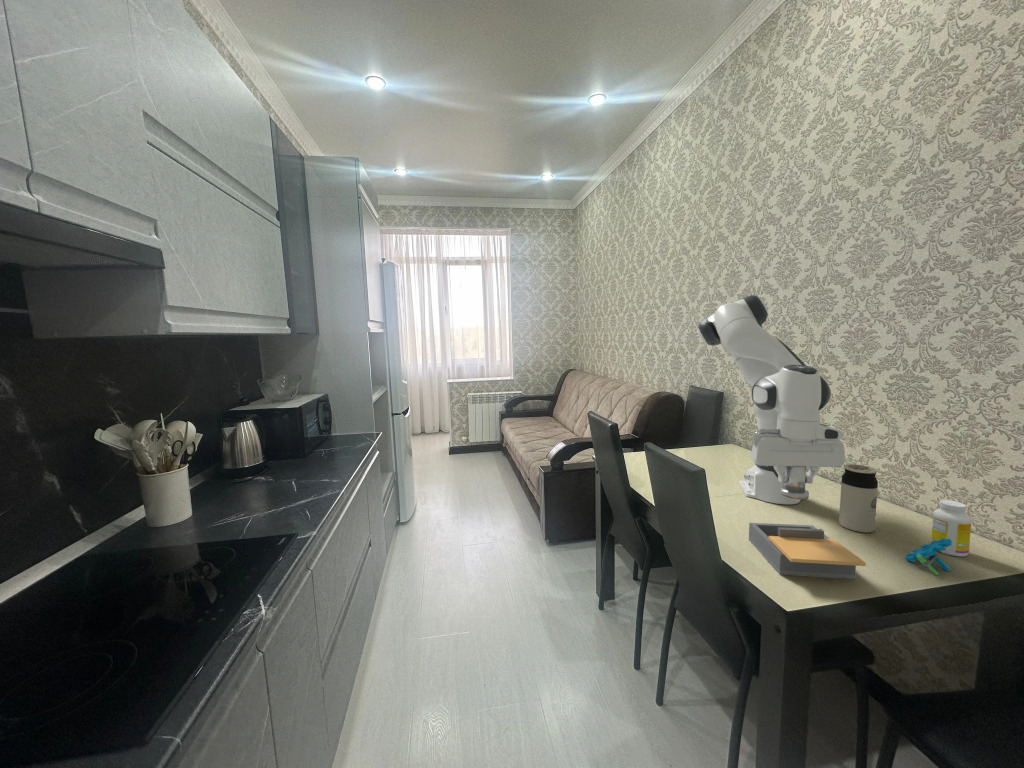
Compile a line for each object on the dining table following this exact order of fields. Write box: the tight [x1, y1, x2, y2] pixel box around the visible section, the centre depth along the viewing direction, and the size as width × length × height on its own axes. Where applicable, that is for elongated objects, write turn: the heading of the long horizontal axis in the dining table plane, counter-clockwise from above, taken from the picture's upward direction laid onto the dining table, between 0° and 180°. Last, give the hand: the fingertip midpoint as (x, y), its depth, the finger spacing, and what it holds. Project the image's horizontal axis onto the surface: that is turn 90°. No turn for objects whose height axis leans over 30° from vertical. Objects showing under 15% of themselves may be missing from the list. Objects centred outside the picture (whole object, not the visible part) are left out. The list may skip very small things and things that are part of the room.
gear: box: [905, 538, 952, 576], centre depth 96 cm, size 11×6×10 cm
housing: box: [748, 522, 857, 580], centre depth 101 cm, size 17×16×5 cm
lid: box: [768, 527, 867, 567], centre depth 95 cm, size 12×15×3 cm
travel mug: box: [838, 463, 879, 534], centre depth 116 cm, size 8×8×18 cm
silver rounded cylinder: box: [780, 466, 810, 500], centre depth 102 cm, size 6×6×8 cm
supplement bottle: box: [930, 499, 972, 557], centre depth 103 cm, size 7×7×13 cm
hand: (795, 482), depth 102 cm, fingers closed on silver rounded cylinder, 4 cm apart
